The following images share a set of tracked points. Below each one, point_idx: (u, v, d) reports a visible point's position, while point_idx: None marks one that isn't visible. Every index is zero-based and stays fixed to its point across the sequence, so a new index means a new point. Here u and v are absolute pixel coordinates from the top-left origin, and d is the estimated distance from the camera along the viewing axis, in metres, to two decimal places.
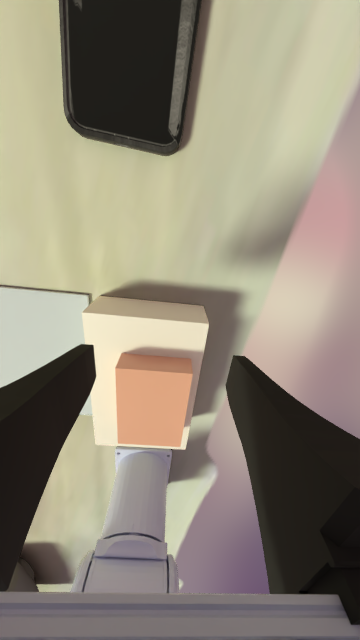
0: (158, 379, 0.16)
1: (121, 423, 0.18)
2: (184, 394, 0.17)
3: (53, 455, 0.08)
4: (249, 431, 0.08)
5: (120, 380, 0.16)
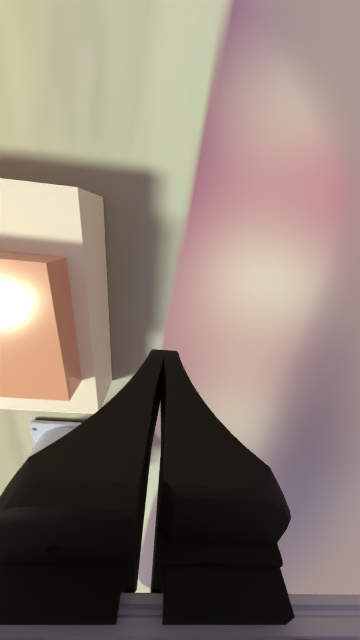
0: None
1: None
2: (45, 304, 0.11)
3: (149, 459, 0.08)
4: (162, 426, 0.08)
5: None
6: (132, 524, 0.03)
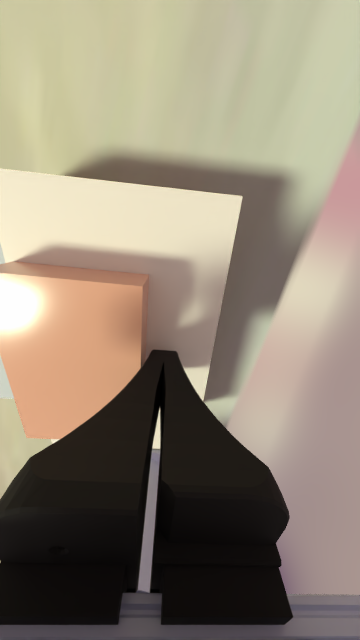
0: (72, 300, 0.08)
1: (22, 399, 0.10)
2: (131, 336, 0.09)
3: (150, 459, 0.08)
4: (161, 426, 0.08)
5: None
6: (134, 524, 0.03)
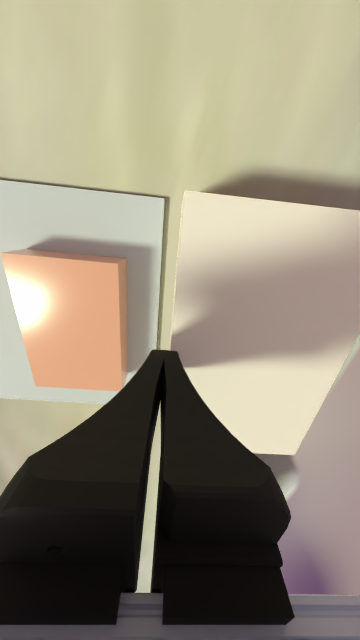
0: None
1: None
2: None
3: (149, 459, 0.08)
4: (162, 427, 0.08)
5: None
6: (132, 524, 0.03)
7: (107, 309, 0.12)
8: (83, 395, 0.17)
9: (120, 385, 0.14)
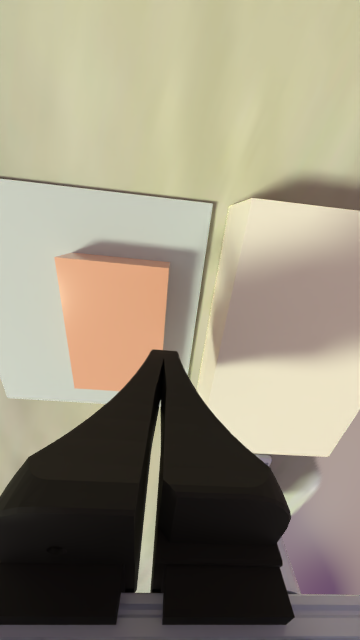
0: None
1: None
2: None
3: None
4: (162, 427, 0.08)
5: None
6: (132, 524, 0.03)
7: (153, 312, 0.12)
8: None
9: None
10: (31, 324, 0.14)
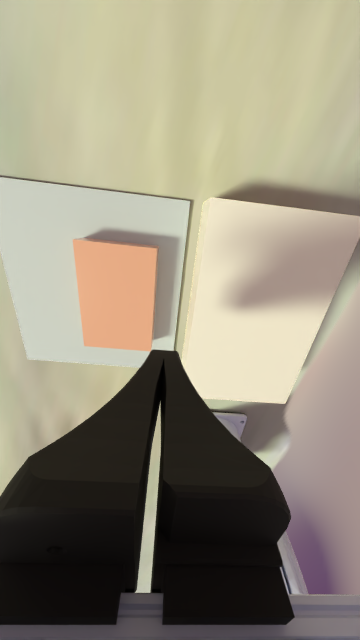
0: None
1: None
2: None
3: (149, 459, 0.08)
4: (162, 427, 0.08)
5: None
6: (132, 524, 0.03)
7: (145, 283, 0.16)
8: (115, 359, 0.21)
9: (150, 346, 0.19)
10: (49, 295, 0.18)
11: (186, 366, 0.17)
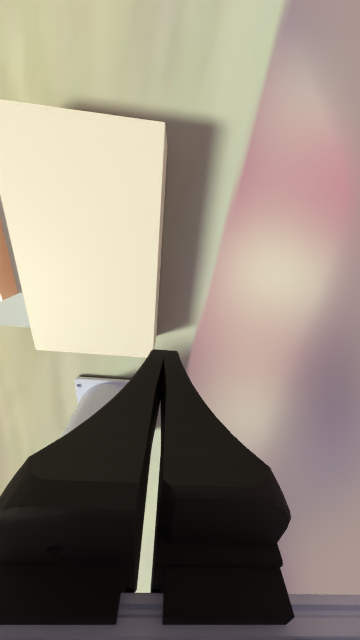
0: None
1: None
2: None
3: (149, 459, 0.08)
4: (162, 426, 0.08)
5: None
6: (132, 524, 0.03)
7: None
8: None
9: None
10: None
11: (28, 312, 0.16)
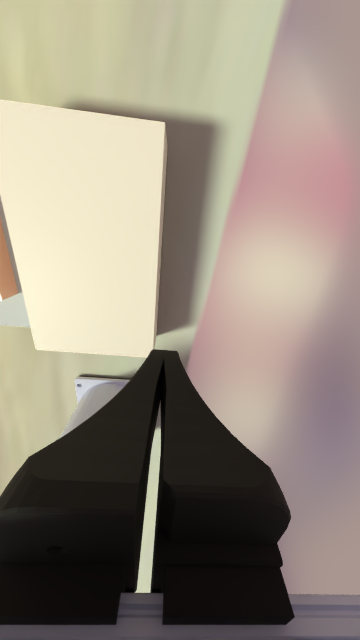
0: None
1: None
2: None
3: (149, 459, 0.08)
4: (162, 426, 0.08)
5: None
6: (132, 524, 0.03)
7: None
8: None
9: None
10: None
11: (28, 312, 0.16)
